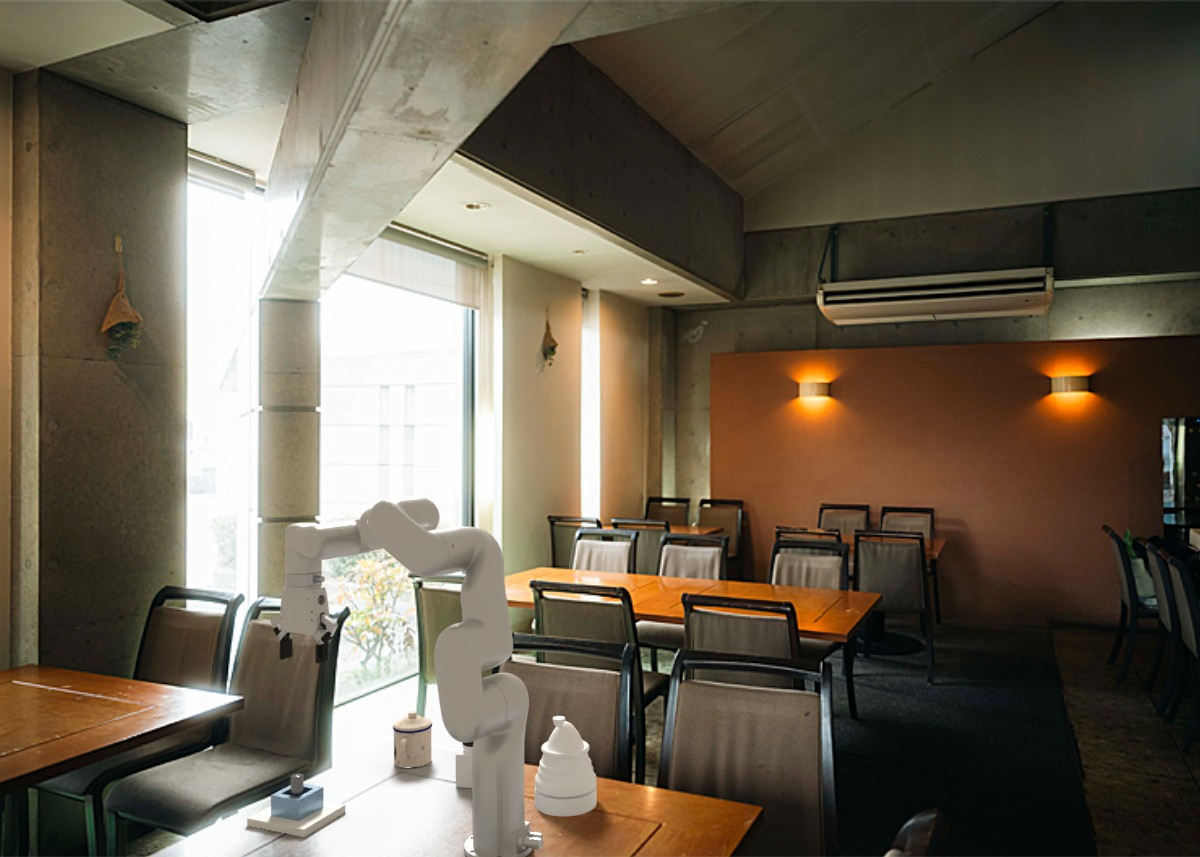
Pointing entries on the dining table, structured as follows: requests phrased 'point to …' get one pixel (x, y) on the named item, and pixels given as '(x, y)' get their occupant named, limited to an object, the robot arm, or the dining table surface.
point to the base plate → (297, 827)
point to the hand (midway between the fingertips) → (303, 660)
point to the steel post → (297, 785)
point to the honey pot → (565, 774)
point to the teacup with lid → (412, 741)
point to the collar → (297, 802)
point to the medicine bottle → (464, 766)
